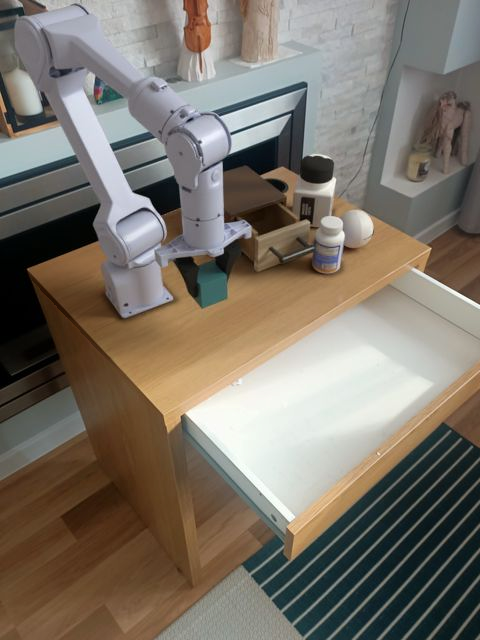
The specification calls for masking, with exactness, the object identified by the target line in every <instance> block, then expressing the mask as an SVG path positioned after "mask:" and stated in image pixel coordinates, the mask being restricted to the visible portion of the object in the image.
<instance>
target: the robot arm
mask: <svg viewBox="0 0 480 640" xmlns="http://www.w3.org/2000/svg"><path fill="white" fill-rule="evenodd" d="M104 31H105V30H104V28H103V25H102V22H101V19H100V18H99V17H98V16H97V15H95V14H94V13H93V12H92V11H91V9H90V8H89V7H88V6H86V4H83V3H81V2H74V3H72V4H70V5H68V6H64V7H60V8H56V9H53V10H48V11H43V12H40V13H36V14H31V15H21V16H19V17H17V18H16V20H15V23H14V31H13V32H14V33H13V34H14V48H15V51H16V53H17V55H18V57H19V58H20V61H21V63H22V64H23V66H24V68H25V70H26V73H27V74H28V76H29V78H30V80H31V81H32V83H33V86H34V87H35V89H36V90H37V91H38V92H42V93H44V95H45V98H46V100H47V101H48V103H49V106H50V107H51V109H52V111H53V113H54V115H55V117H56V119H57V121H58V123H59V125H60V127H61V129H62V131H63V133H64V135H65V137H66V139H67V140H68V143H69V145H70V147H71V149H72V151H73V152H74V155H75V156H76V159H77V161H78V163H79V165H80V166H81V168H82V170H83V172H84V174H85V177H86V178H87V180H88V182H89V184H90V186H91V188H92V190H93V192H94V194H95V196H96V199H97V200H98V202H99V204H100V207H99V209H98V211H97V214H96V215H95V218H94V220H93V223H92V227H93V228H94V231H95V233H96V237H97V239H98V244H99V248H100V250H101V252H102V253H103V255H104V256H105V258H106V259H107V260H105V261H103V262H101V263H100V271H101V275H102V279H103V285H104V288H105V296H106V298H108V300H109V301H110V303H111V304H112V306H113V307H114V308H115V310H116V311H117V312H118V314H119V315H120V317H121V318H122V319H127V318H130V317H133V316H135V315H138V314H140V313H143V312H146V311H148V310H151V309H154V308H156V307H158V306H162V305H164V304H166V303H169V302H172V301H173V300H174V296H173V295H172V294H171V293H170V292H169V290H167V288H166V287H165V286H164V283H163V276H162V269H163V268H166V267H168V266H169V263H172V262H173V264H174V265H175V267H176V269H177V270H178V272H179V273H180V276H181V277H182V279H183V281H184V284H185V288H186V290H187V293H188V292H189V293H188V294H189V295H190V297H191V298H192V297H193V298H196V297H197V296H198V285H197V279H198V272H199V266H198V265H199V264H197V263H196V262H195V258H194V257H197V256H205V255H208V256H210V257H212V258H214V263H215V264H216V265H217V266H218V267H219V268H220V269H221V270H222V271H223V272H224V273H225V274H226V275H227V284H228V283H229V279H230V277H231V273H232V270H233V267H234V265H235V264H236V262H237V260H238V259H239V258H240V257H241V255H242V253H243V252H242V248H241V246H240V245H239V244H238V243H237V239H239V238H242V237H243V238H245V239H247V238H250V237H251V225H249V224H248V223H247V222H246V221H245V220H242V221H239V222H233V223H224V202H223V172H224V170H223V169H224V168H223V160H224V159H225V158H226V157H228V156H229V154H230V153H231V151H232V145H233V140H232V136H231V132H230V130H229V127H228V125H227V123H225V121H224V120H223V119H222V118H221V117H220V116H219V114H218V113H216V112H213V111H209V110H208V111H203V110H202V109H200V108H196V109H195V108H194V107H193V106H191V104H190V103H188V102H187V101H186V100H185V99H183V97H182V96H180V95H179V94H178V93H177V92H176V91H175V90H173V89H172V88H171V87H170V86H169V84H168V82H166V81H165V80H164V79H163V78H162V77H157V76H149V77H145V76H144V75H143V74H142V73H140V71H139V70H137V68H136V67H135V66H134V65H133V64H132V63H131V62H130V61H129V60H128V59H127V58H126V57H125V56H124V55H123V53H121V51H119V50H118V48H117V47H116V46H115V45H114V44H113V43H112V42H111V41H110V40H109V39H108V38H107V37H106V36H105V32H104ZM90 73H92V74H93V75H94V76H95V77H96V78H98V79H99V80H101V81H102V82H103V83H105V84H106V85H107V86H108V87H110V88H111V89H112V90H114V91H115V92H117V94H119V95H120V96H122V98H124V99H125V100H127V107H128V112H129V115H130V116H131V117H132V118H133V119H134V120H136V122H138V123H139V124H140V125H141V126H142V127H143V128H144V129H145V130H147V131H148V132H149V134H151V135H152V136H153V137H154V138H155V139H156V140H158V141H159V142H160V143H161V144H162V145H163V146H164V151H165V155H166V156H167V159H168V162H169V163H170V166H172V169H173V175H174V176H173V177H174V180H175V181H176V183H177V184H178V190H179V191H178V192H179V199H180V211H181V212H180V213H181V223H182V224H181V225H182V233H181V234H180V235H178V236H176V237H175V238H173V239H172V240H170V241H169V242H167V243H166V244H164V245H162V243H163V242H164V241H165V240H166V238H167V236H168V235H167V234H168V232H167V225H166V223H165V220H164V219H163V217H162V215H161V214H160V213H159V212H158V210H156V208H155V207H154V206H153V204H152V201H151V199H150V198H149V197H147V196H144V195H141V194H138V193H135V192H133V191H132V189H131V187H130V185H129V183H128V180H127V178H126V176H125V174H124V171H123V170H122V167H121V166H120V164H119V162H118V159H117V157H116V155H115V153H114V151H113V149H112V146H111V145H110V143H109V140H108V138H107V136H106V134H105V132H104V130H103V128H102V125H101V124H100V122H99V119H98V117H97V115H96V113H95V110H94V109H93V107H92V105H91V103H90V100H89V99H88V96H87V94H86V92H85V90H84V85H85V80H86V77H87V76H88V75H89V74H90ZM193 298H192V299H193Z"/></svg>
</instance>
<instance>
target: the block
mask: <svg viewBox="0 0 480 640" xmlns="http://www.w3.org/2000/svg"><path fill="white" fill-rule="evenodd" d="M197 265H198V266H199V272H198V279H197V285H198V296H197V297H196V298H193V297H192V296H191V298H192V299H193V300H194V301H195V303H197V305H198V306H199V307H200V309H206V308H208V307H211V306H214V305H216V304H218V303H221V302H223V301H226V300H229V299H228V298H229V297H228V295H229V294H228V283H227V275H226V274H225V273H224V272H223V271H222V270H221V269H220V268H219V267H218V266H217V265H216V264H215V261H213V260H209V261H207V262H203V263H200V264H197ZM187 293H188V294H189V292H188V291H187Z"/></svg>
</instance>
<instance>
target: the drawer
mask: <svg viewBox="0 0 480 640" xmlns="http://www.w3.org/2000/svg"><path fill="white" fill-rule="evenodd" d="M242 220H245V221H246V222H247V223H248V224H249V225H251V237H250V238H247V239H245V238H243V237H242V238H239V239H237V243H238V244H239V245H240V246H241V248H242V253H243V254H244V255H245V256H246V257H247V258H248V259H249V260H251V262H252V263H254V264H253V267H254V268H253V269H254V270H255V271H256V272H258V273H259V272H261V271H264V270H266V269H269V268H272V267H274V266H276V265H279V264H280V265H284V264H286V263H290V262H292V261H295V260H297V259H299V258H302V257H305V256H307V255H310V254H313V252H314V251H315V247H314V244H309V242H310V241H309V239H310V231H311V227H310V222H309V221H308V220H307V219H306V220H303V221H300V222H299V217H297V216H296V215H295V214H294V213H292V210H290V209H289V208H288V207H287V206H286V207H285V206H283V205H282V204H281V203H277V204H274V205H270V206H267V207H264V208H261V209H258V210H255V211H252V212H249V213H246V214H243V215H240V216H237V217H234V222H239V221H242Z"/></svg>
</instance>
